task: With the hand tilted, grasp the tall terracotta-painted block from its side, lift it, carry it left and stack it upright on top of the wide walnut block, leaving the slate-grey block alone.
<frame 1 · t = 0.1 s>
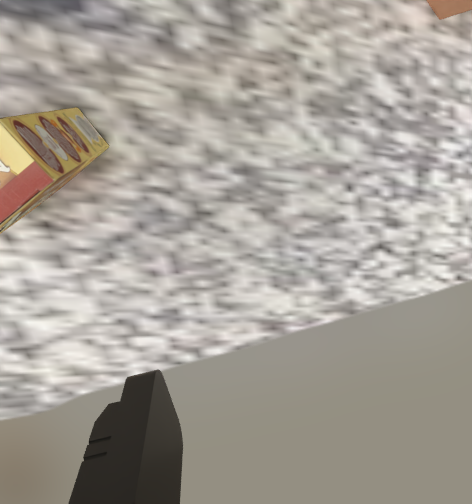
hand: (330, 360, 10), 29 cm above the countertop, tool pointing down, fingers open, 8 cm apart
candy box: (56, 160, 36), on the countertop
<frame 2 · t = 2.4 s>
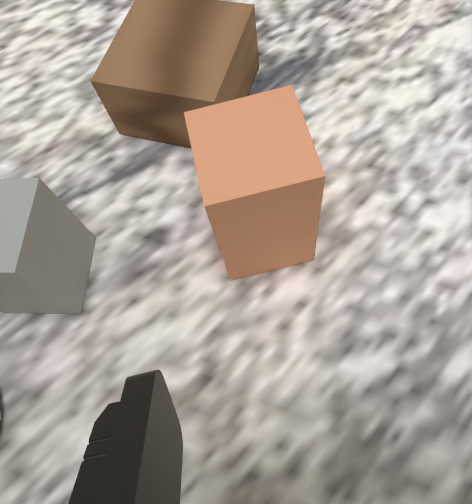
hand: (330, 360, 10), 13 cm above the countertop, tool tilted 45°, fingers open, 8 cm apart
slate block: (51, 274, 27), on the countertop
terracotta block: (262, 233, 27), on the countertop
walnut block: (190, 99, 32), on the countertop
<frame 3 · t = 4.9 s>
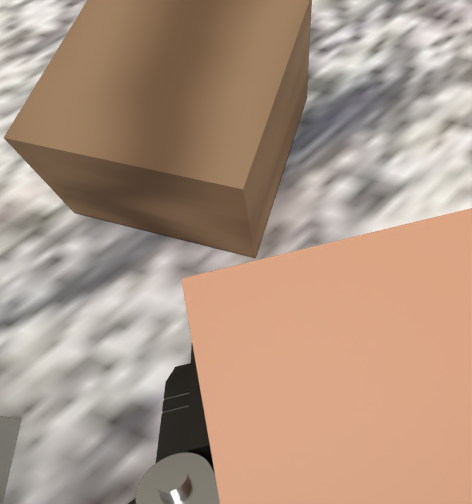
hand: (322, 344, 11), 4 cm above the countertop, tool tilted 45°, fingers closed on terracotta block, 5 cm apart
terracotta block: (330, 425, 14), on the countertop, touching gripper
walnut block: (193, 153, 19), on the countertop
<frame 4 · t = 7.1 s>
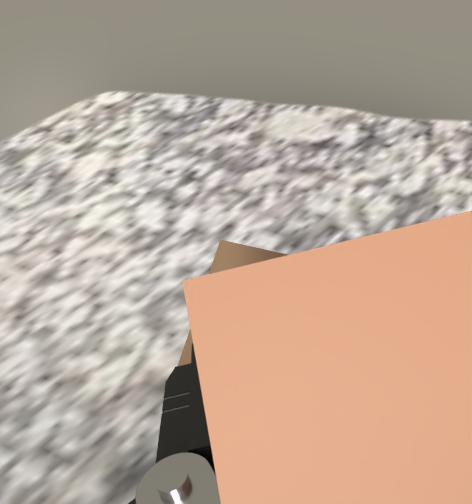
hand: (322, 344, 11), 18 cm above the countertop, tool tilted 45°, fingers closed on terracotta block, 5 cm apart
terracotta block: (331, 427, 14), point 13 cm above the countertop, touching gripper
walnut block: (271, 337, 29), on the countertop
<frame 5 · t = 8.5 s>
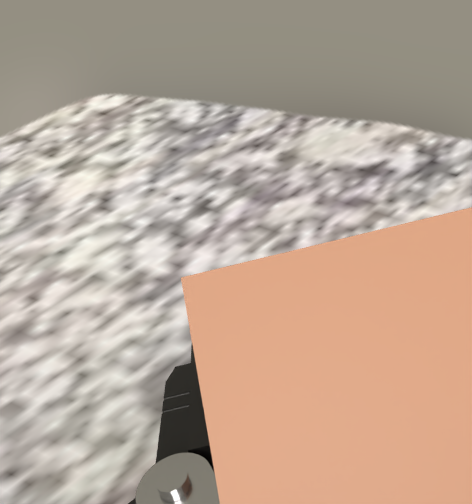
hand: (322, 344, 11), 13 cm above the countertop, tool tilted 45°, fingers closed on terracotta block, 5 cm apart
terracotta block: (330, 425, 14), point 9 cm above the countertop, touching gripper
when the fingers open (11 cm above the countertop, at t = 9.3 s): terracotta block drops 1 cm, resting on walnut block.
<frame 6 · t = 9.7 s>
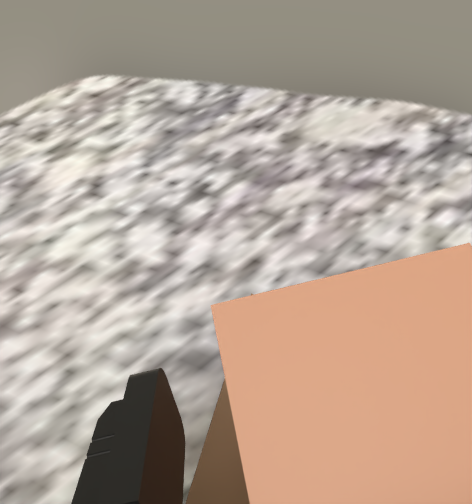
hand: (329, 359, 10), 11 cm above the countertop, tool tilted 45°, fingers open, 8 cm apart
terracotta block: (334, 427, 15), point 5 cm above the countertop, touching walnut block
walnut block: (318, 430, 20), on the countertop
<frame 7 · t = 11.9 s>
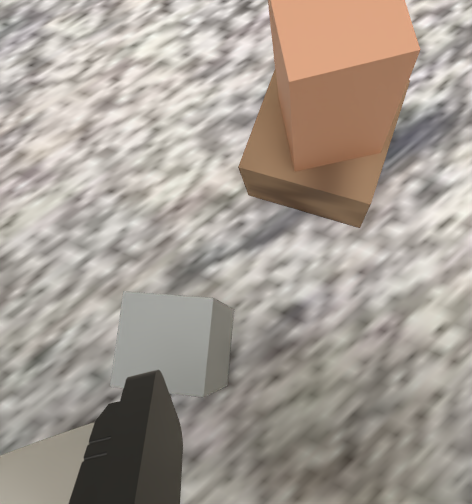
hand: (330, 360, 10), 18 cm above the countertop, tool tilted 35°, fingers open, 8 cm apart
milk bottle: (113, 479, 29), on the countertop
slate block: (194, 343, 30), on the countertop
terracotta block: (327, 124, 26), point 5 cm above the countertop, touching walnut block
walnut block: (320, 159, 31), on the countertop
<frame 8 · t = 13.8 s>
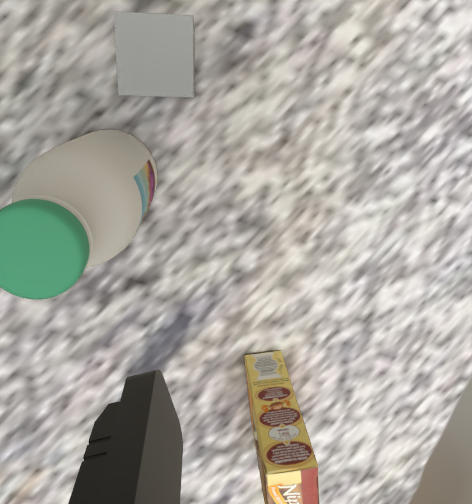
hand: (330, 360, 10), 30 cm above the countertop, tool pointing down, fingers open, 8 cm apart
milk bottle: (114, 173, 38), on the countertop
slate block: (163, 62, 35), on the countertop
candy box: (266, 384, 47), on the countertop
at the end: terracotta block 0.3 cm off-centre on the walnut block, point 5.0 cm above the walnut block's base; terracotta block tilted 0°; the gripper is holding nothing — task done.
